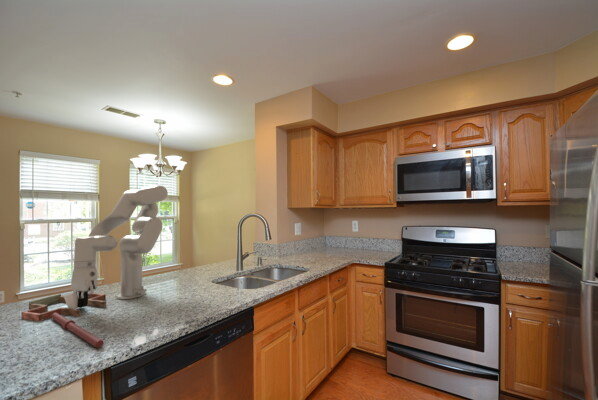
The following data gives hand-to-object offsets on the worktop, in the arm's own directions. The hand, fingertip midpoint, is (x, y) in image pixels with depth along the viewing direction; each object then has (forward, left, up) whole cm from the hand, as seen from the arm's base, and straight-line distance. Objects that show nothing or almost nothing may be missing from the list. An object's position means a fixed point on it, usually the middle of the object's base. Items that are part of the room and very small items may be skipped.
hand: (82, 306), depth 116 cm
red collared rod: (-18, +15, -3) cm, 24 cm away
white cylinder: (+4, -1, -1) cm, 5 cm away
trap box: (+12, -1, -2) cm, 12 cm away
